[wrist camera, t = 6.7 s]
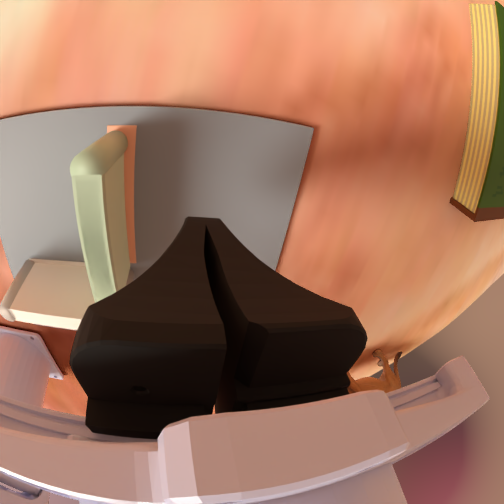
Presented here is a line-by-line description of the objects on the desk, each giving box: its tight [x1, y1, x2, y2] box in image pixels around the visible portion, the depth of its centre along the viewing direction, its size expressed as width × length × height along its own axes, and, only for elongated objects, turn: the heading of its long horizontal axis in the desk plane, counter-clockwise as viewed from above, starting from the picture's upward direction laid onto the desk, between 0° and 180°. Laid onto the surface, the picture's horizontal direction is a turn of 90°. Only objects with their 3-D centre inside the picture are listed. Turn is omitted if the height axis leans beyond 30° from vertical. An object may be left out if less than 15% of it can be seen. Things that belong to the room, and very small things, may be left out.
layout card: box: [0, 106, 314, 331], centre depth 16 cm, size 20×17×1 cm
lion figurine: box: [347, 349, 402, 394], centre depth 27 cm, size 15×5×9 cm, turn 88°
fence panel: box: [70, 130, 130, 303], centre depth 12 cm, size 8×1×4 cm, turn 170°
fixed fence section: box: [0, 259, 134, 330], centre depth 14 cm, size 9×1×5 cm, turn 79°
